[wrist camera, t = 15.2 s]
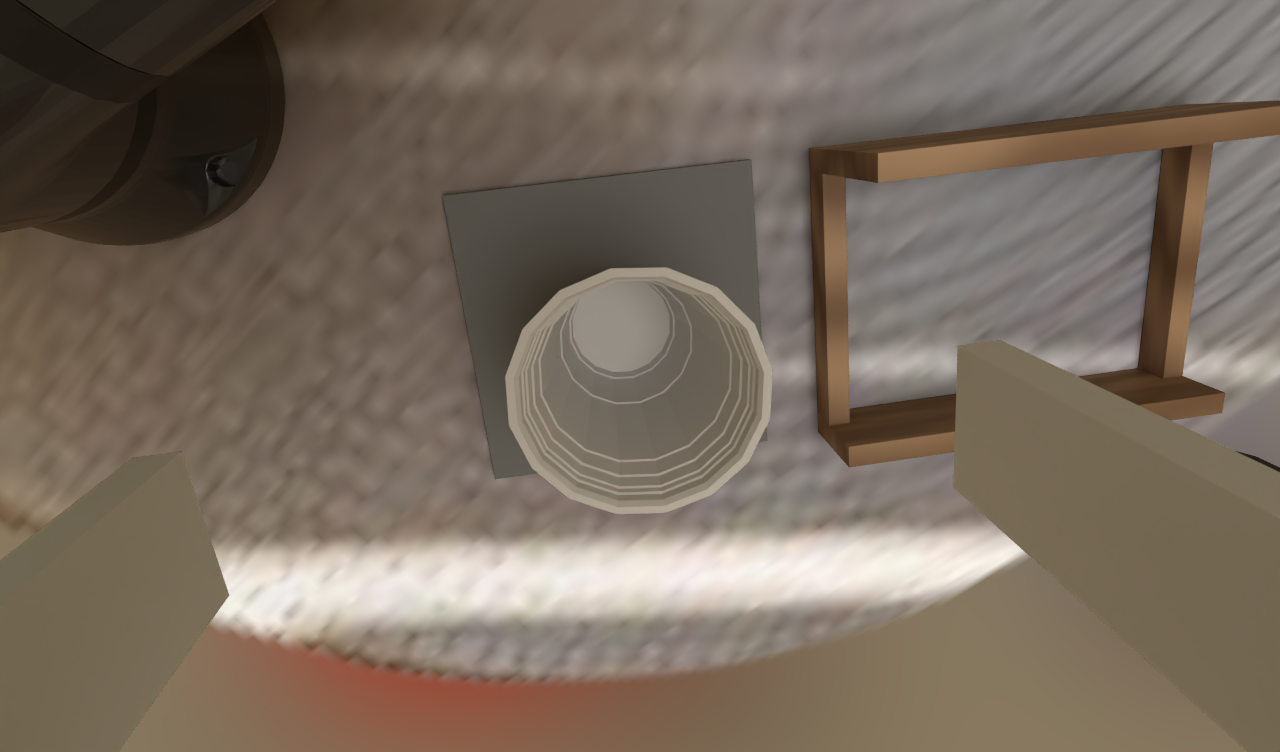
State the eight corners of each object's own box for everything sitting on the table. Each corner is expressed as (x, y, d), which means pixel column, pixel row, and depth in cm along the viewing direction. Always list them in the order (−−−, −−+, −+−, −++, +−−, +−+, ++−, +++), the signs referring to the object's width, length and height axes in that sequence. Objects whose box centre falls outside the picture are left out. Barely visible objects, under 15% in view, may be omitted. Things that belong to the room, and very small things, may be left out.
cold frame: (809, 148, 40) (877, 153, 31) (1188, 104, 41) (1352, 97, 33) (818, 431, 45) (879, 501, 37) (1154, 384, 46) (1288, 440, 38)
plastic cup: (476, 304, 40) (444, 374, 29) (643, 185, 39) (678, 208, 28) (594, 454, 43) (608, 569, 32) (751, 347, 42) (822, 427, 31)
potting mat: (444, 194, 39) (442, 195, 38) (748, 159, 40) (751, 159, 39) (496, 474, 44) (495, 479, 43) (764, 436, 45) (767, 440, 44)
